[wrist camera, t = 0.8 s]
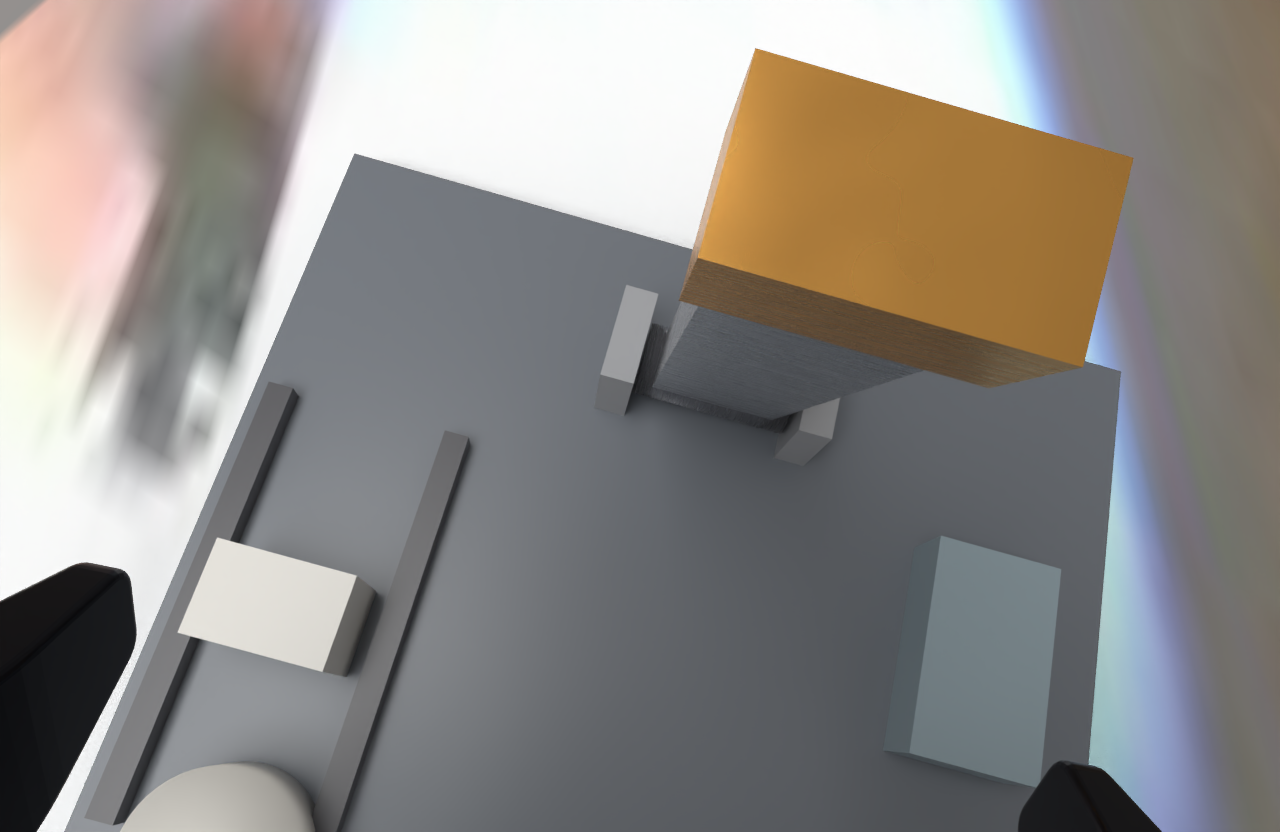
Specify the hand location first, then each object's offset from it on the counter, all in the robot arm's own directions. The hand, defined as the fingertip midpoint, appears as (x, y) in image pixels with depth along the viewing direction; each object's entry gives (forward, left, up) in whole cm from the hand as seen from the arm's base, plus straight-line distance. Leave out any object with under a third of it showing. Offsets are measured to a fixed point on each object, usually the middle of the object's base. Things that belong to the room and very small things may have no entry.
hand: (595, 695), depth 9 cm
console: (0, -2, -15) cm, 15 cm away
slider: (+4, +5, -13) cm, 15 cm away
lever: (+6, -6, -12) cm, 15 cm away
